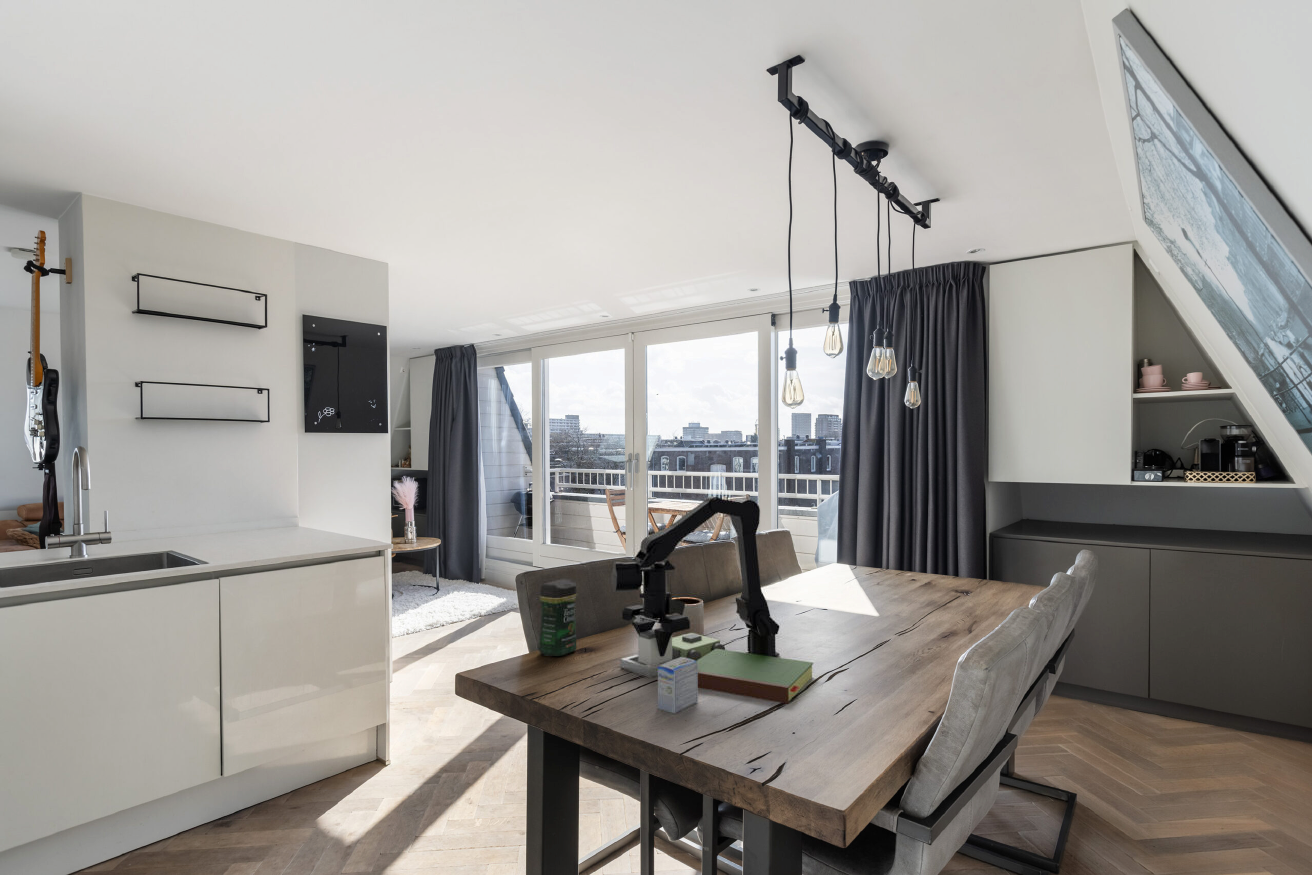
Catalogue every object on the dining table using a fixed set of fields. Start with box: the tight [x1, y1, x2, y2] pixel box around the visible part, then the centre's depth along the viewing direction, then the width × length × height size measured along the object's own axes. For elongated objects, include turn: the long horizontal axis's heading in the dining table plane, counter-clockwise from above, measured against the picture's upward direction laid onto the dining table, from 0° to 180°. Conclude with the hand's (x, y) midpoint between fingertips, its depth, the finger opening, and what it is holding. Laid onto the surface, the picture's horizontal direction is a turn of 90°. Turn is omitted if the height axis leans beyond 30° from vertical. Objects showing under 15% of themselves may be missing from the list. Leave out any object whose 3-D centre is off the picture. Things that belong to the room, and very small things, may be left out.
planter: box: [667, 596, 705, 638], centre depth 188 cm, size 11×11×10 cm
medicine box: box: [657, 657, 699, 714], centre depth 134 cm, size 8×4×9 cm, turn 141°
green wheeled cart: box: [669, 633, 726, 661], centre depth 167 cm, size 13×12×5 cm
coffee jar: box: [538, 578, 577, 658], centre depth 172 cm, size 10×8×19 cm
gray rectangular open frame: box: [620, 654, 669, 679], centre depth 159 cm, size 10×12×2 cm
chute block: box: [637, 627, 672, 667], centre depth 159 cm, size 4×7×7 cm, turn 132°
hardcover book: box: [697, 649, 814, 705], centre depth 148 cm, size 25×19×4 cm
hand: (655, 653), depth 159 cm, fingers closed on chute block, 4 cm apart
